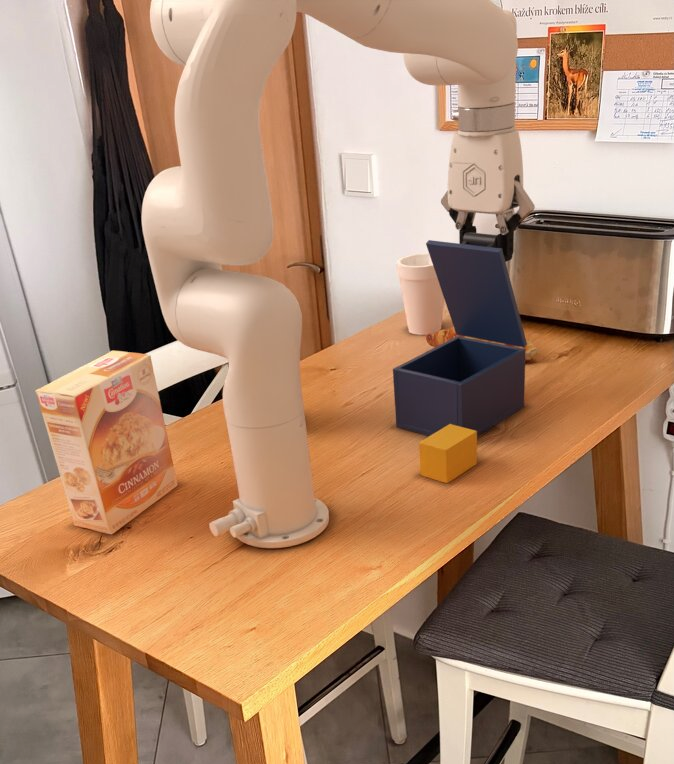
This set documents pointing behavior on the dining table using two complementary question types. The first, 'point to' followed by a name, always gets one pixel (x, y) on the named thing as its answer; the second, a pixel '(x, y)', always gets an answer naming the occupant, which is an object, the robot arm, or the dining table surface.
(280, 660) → the dining table surface
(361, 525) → the dining table surface
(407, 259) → the foam cup
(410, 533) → the dining table surface
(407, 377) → the cool box
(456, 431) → the cheese block
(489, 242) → the lid
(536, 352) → the croissant
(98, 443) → the coffeecake box
